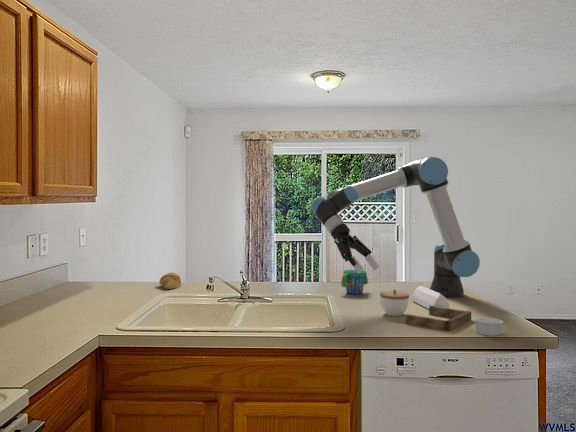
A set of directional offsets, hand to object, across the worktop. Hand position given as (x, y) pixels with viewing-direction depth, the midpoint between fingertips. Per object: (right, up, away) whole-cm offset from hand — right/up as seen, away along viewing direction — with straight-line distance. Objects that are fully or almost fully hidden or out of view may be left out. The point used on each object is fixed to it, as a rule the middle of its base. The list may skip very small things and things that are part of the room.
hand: (369, 270), depth 197 cm
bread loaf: (-89, -13, +46) cm, 101 cm away
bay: (+21, -16, -17) cm, 32 cm away
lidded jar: (+8, -16, -7) cm, 19 cm away
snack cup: (-1, -15, +36) cm, 39 cm away
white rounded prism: (+26, -16, +9) cm, 32 cm away
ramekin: (+34, -17, -32) cm, 50 cm away
